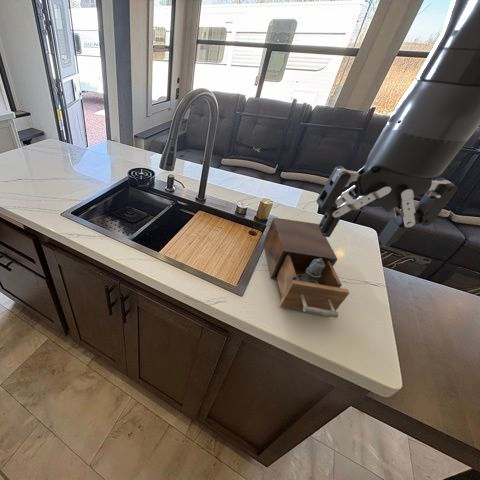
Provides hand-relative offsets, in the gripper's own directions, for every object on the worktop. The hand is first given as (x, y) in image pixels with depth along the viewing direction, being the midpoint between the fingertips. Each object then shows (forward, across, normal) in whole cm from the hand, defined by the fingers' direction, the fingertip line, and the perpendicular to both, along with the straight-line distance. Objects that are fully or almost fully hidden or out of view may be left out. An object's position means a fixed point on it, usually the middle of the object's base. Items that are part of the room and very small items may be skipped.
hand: (353, 238), depth 39 cm
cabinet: (+30, +7, +28) cm, 42 cm away
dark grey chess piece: (+28, +6, +15) cm, 33 cm away
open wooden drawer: (+29, +7, +15) cm, 33 cm away
